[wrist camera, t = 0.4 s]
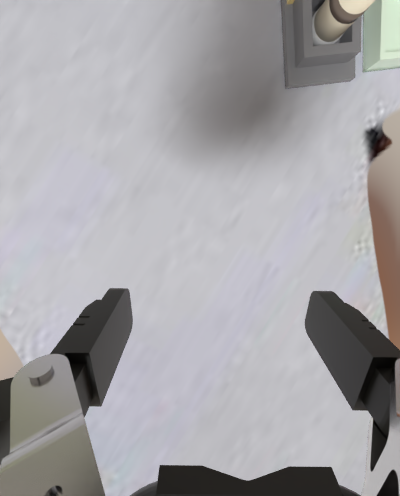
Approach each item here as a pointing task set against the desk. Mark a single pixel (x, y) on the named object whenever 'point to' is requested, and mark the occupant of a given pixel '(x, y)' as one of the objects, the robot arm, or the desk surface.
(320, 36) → the grey beige cylinder
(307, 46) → the holder
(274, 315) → the desk surface
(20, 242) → the desk surface
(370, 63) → the tray
